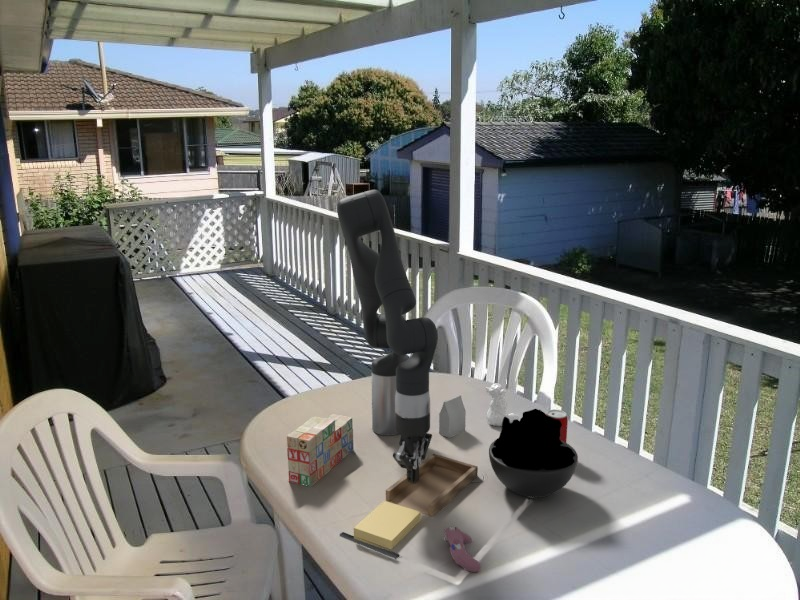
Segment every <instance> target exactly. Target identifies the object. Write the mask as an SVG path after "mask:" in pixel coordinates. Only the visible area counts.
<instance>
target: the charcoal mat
mask: <svg viewBox="0 0 800 600" xmlns="http://www.w3.org/2000/svg"><path fill="white" fill-rule="evenodd" d="M339 537H341V538H344V539H346V540H349V541H351V542H353V543H356V544H358V545H360V546H363V547H366V548H368V549H370V550H373V551H375V552H378V553H380V554H384V555H385V556H388V557H390V558H393V559H395V560H397V559H398V557H400V556H401V554H399V553H397V552H394V551H392V552H391V550H389V551H388V549H387V550H385V549H386V548H384V549H382V548H383V547H382V548H379V547H380V546H379V547H376V546H374V545H375V544H374V545H371V544H368V543H365V542H362V541H359V540H357V539H354V537H355V536H354V535H352V534H349V533H347V532H344V531H341V533H340V534H339Z"/></svg>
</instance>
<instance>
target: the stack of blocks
mask: <svg viewBox="0 0 800 600" xmlns="http://www.w3.org/2000/svg"><path fill="white" fill-rule="evenodd" d="M286 443H287V444H286V445H287V446H286V447H287V448H286V449H287V450H286V451H287V453H286V454H287V464H288V482H289V483H292V482H293V483H292V484H296V483H298V484H297V485H301V484H304V485H303V486H305V485H307V486H306V487H309V486H311V487H313V486H314V485H315V484H316V483H317V482H319V481H320V480H321V479H322V478H324V477H325V475H327V474H328V473H330V472H331V470H332V469H333V468H335V466H337V465H338V464H339V463H340V462H341V461H342V460H343V459H344V458H346V457H347V456H348V455H349V454H350V453H351V452H352V451H354V429H353V417H351V416H345V415H340V414H335V413H332V414H330V415H329V416H328V417H325V418H324V417H319V416H315V415H314V416H312V417H311V418H310V419H308V420H307V421H306V422H304V423H303V424H301V425H300V426H299V427H297V428H296V429H295V430H293V431H292V432H290V433H289V434H287V435H286ZM319 479H320V480H319ZM318 480H319V481H318ZM314 483H315V484H314ZM313 484H314V485H313ZM312 485H313V486H312Z"/></svg>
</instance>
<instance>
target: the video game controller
mask: <svg viewBox="0 0 800 600" xmlns="http://www.w3.org/2000/svg"><path fill="white" fill-rule="evenodd" d="M444 534H445V535H444V536H443V539H444V541H445V542H446V543H447V542H448V543H449V545H450V546H449V552H450V554H451V557H452V559H453V560H454V562H455V564H457V565H459V566H460V567H461V568H463V569H465V570H467V571H468V572H470V573H479V572H480V570H481V569H482V565H481V563H480V562H479V561H478V560H477V559H475V558H474V557H472V556H471V555H470V554H469V553H468V552H467V550H466V547H465V545H464V544H469V543H471V542H473V540H472V538H471V537H470V535H468V534H467V533H466V532H464V531H462V530H461V529H460V528H459V527H457V526H455V525H454V526H449V527H447V528H446V529H444Z"/></svg>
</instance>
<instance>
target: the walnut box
mask: <svg viewBox="0 0 800 600" xmlns="http://www.w3.org/2000/svg"><path fill="white" fill-rule="evenodd" d="M478 469H479V468H478V466H477V465H473V464H471V463H467V462H464V461H460V460H458V459H453V458H451V457H447V456H445V455H444V456H443V455H440V454H436V453H433V454H431V455H430V456H428V457H427V458H425V459H424V460H422V461H421V465H420V466H419V481H418V482H416V483H415V484H413V483H410V482H408V481H407V473H406V474H405V475H404V476H402V477H400V479H398V480H397V481H396V482H394V483H393V484H391V485H390V486H389V487H388V488H386V489H385V501H387V502H390V503H394V504H397V505H400V506H403V507H407V508H410V509H413V510H416V511H419V512H421V514H423V515H427V516H430V517H432V518H433V517H434V516H435V515H436V514H438V512H439V511H441V510H442V508H444V507H445V506H446V505H448V504H449V502H451V501H452V500H453V499H454V498H455V497H456V496H457V495H459V493H460V492H461V491H463V490H464V489H465V488H466V487H467V486H468V485H470V483H471V482H473V481H474V480H475V479H476V478H477V477H478V474H479V473H478Z"/></svg>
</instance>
